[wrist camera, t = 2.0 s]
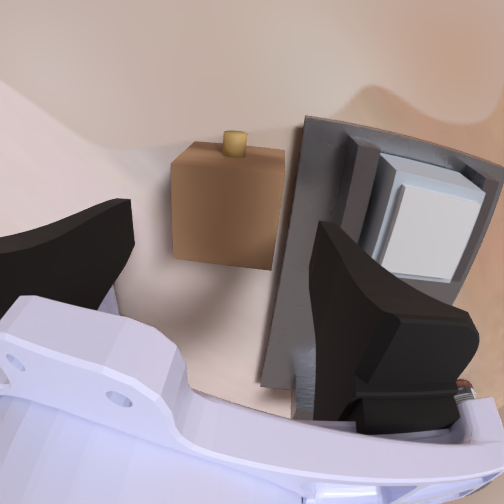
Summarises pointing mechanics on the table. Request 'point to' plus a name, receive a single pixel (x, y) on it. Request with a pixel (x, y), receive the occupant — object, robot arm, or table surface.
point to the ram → (419, 218)
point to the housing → (227, 202)
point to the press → (350, 233)
